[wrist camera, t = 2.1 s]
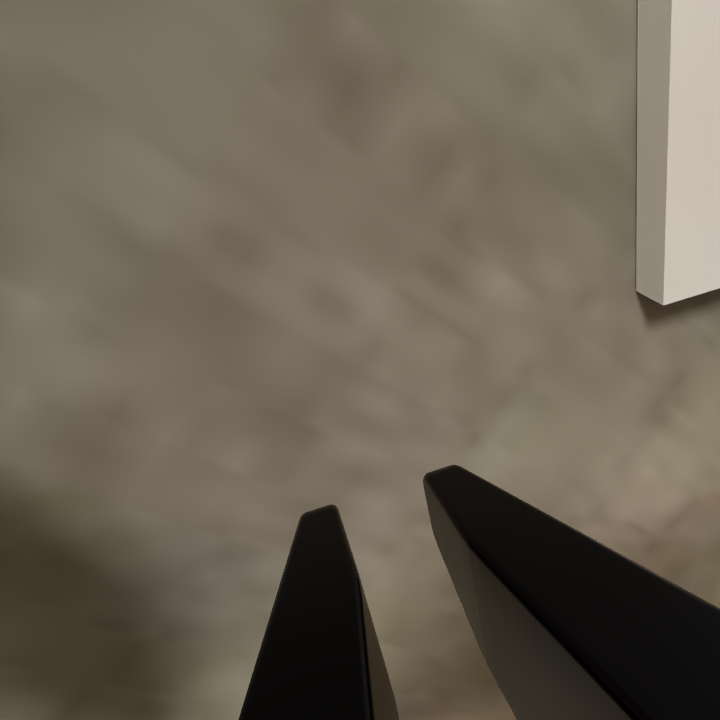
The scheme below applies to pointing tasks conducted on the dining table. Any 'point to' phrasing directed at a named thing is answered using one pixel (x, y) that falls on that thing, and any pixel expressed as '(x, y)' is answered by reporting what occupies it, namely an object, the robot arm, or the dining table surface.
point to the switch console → (678, 149)
